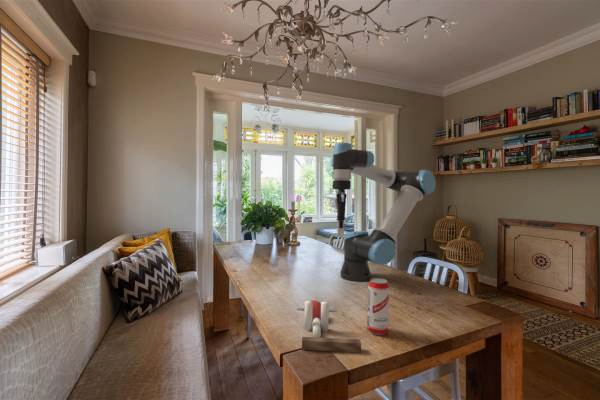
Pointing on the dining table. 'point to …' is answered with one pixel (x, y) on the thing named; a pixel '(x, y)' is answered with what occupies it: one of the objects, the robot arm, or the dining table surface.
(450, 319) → the dining table surface
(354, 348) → the back wall
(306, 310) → the pin back left
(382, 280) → the beer can
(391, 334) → the dining table surface
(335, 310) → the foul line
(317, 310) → the ball
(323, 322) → the pin back right
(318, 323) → the pin front
